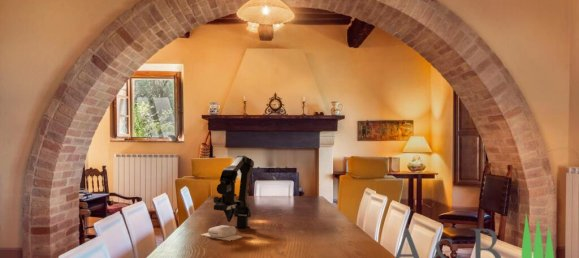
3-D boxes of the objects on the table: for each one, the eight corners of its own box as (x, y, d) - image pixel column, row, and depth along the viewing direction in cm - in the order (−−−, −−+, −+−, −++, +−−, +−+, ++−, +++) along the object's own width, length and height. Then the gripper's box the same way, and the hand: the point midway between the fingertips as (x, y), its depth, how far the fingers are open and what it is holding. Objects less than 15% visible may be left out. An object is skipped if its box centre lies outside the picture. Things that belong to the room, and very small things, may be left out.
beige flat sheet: (212, 232, 240) (212, 231, 240) (242, 237, 229) (242, 236, 229) (200, 235, 232) (200, 234, 232) (230, 240, 222) (230, 239, 222)
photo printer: (236, 226, 233) (221, 230, 223) (236, 234, 233) (221, 239, 222) (221, 224, 238) (205, 228, 228) (221, 232, 238) (205, 236, 228)
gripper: (229, 189, 249) (228, 217, 248) (205, 192, 233) (205, 222, 233) (244, 190, 243) (244, 219, 242) (222, 194, 227) (221, 225, 227)
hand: (229, 221), depth 236 cm, fingers closed
